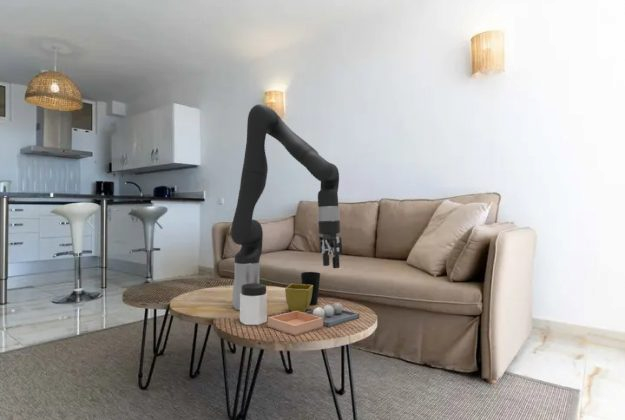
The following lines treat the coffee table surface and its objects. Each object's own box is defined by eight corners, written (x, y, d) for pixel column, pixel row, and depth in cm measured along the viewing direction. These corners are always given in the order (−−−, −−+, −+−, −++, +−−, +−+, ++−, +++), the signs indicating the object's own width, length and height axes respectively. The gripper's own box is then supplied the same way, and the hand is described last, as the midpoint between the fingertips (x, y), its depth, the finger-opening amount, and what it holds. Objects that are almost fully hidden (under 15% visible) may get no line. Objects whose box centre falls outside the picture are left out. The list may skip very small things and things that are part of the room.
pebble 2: (329, 313, 140) (329, 302, 140) (336, 312, 143) (336, 300, 143) (337, 316, 138) (338, 304, 138) (345, 314, 140) (345, 302, 140)
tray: (296, 318, 136) (296, 313, 136) (328, 310, 148) (328, 306, 148) (327, 327, 126) (328, 322, 126) (359, 317, 138) (359, 313, 138)
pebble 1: (319, 316, 137) (320, 304, 137) (327, 314, 140) (327, 303, 140) (328, 318, 134) (328, 307, 134) (336, 316, 137) (336, 305, 137)
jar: (270, 323, 130) (271, 286, 130) (247, 327, 125) (247, 289, 125) (259, 316, 137) (259, 282, 137) (236, 320, 133) (237, 284, 133)
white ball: (310, 319, 133) (310, 307, 133) (318, 316, 136) (318, 305, 136) (318, 321, 131) (319, 309, 131) (327, 319, 134) (327, 307, 134)
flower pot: (308, 314, 141) (308, 289, 141) (284, 313, 143) (284, 288, 143) (313, 308, 150) (313, 284, 150) (290, 307, 152) (290, 283, 151)
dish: (267, 326, 126) (268, 317, 126) (296, 319, 135) (296, 310, 135) (294, 336, 117) (294, 325, 117) (323, 327, 126) (323, 318, 126)
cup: (319, 306, 154) (320, 275, 154) (300, 305, 154) (300, 274, 154) (319, 301, 161) (320, 272, 161) (301, 301, 162) (301, 271, 162)
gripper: (311, 220, 142) (313, 266, 142) (326, 219, 129) (329, 269, 128) (330, 219, 145) (332, 264, 144) (347, 218, 131) (350, 267, 131)
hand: (331, 266), depth 136 cm, fingers open, 8 cm apart
